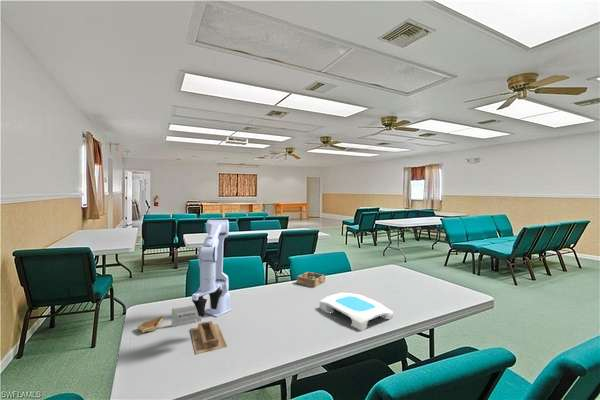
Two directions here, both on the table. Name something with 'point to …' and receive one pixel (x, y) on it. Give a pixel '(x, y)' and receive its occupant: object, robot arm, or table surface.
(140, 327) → the shard
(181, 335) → the table surface
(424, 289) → the table surface
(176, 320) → the cassette
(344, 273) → the table surface
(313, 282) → the deck stand
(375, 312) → the white step stool
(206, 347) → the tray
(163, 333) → the table surface
